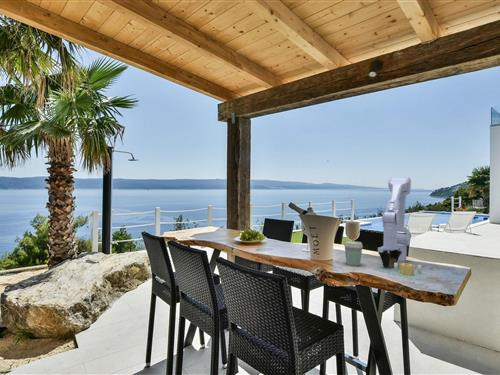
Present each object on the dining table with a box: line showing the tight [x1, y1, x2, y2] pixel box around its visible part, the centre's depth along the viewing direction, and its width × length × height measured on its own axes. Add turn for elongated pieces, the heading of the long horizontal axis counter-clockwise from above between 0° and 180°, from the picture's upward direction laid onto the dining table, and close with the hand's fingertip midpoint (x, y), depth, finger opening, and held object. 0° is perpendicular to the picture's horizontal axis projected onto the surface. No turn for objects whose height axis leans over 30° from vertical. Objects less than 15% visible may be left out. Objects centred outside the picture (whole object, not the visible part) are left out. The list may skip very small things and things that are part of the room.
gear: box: [388, 257, 396, 268], centre depth 142 cm, size 6×5×4 cm
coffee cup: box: [343, 240, 364, 267], centre depth 146 cm, size 8×8×12 cm
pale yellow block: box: [399, 262, 415, 276], centre depth 130 cm, size 6×5×4 cm
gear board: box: [368, 262, 437, 281], centre depth 135 cm, size 22×16×5 cm
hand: (389, 266), depth 142 cm, fingers closed on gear, 5 cm apart
